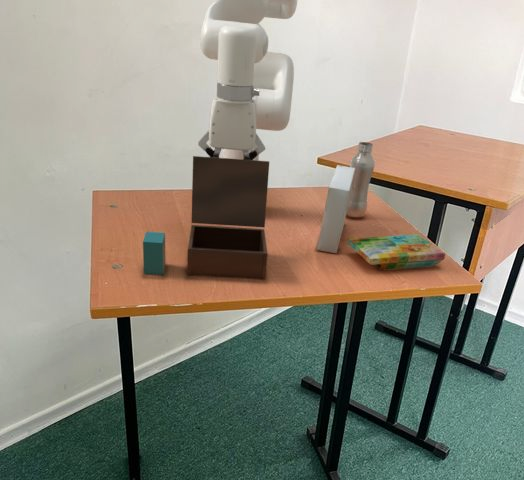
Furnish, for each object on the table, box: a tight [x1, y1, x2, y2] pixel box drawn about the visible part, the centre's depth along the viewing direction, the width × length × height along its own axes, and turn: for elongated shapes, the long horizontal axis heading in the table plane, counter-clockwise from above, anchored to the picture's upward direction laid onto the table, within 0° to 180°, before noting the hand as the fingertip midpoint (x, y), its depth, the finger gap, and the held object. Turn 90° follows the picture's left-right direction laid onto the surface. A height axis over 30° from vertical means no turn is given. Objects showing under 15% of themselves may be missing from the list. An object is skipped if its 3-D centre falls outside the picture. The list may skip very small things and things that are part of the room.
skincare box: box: [316, 164, 355, 254], centre depth 147 cm, size 21×6×16 cm, turn 168°
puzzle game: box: [346, 233, 447, 271], centre depth 141 cm, size 12×5×20 cm
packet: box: [142, 231, 166, 276], centre depth 124 cm, size 6×4×8 cm
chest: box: [187, 224, 268, 280], centre depth 130 cm, size 14×17×7 cm
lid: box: [190, 155, 270, 228], centre depth 132 cm, size 14×17×5 cm
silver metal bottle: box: [346, 141, 376, 218], centre depth 161 cm, size 6×7×20 cm
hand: (230, 178), depth 133 cm, fingers closed on lid, 5 cm apart
